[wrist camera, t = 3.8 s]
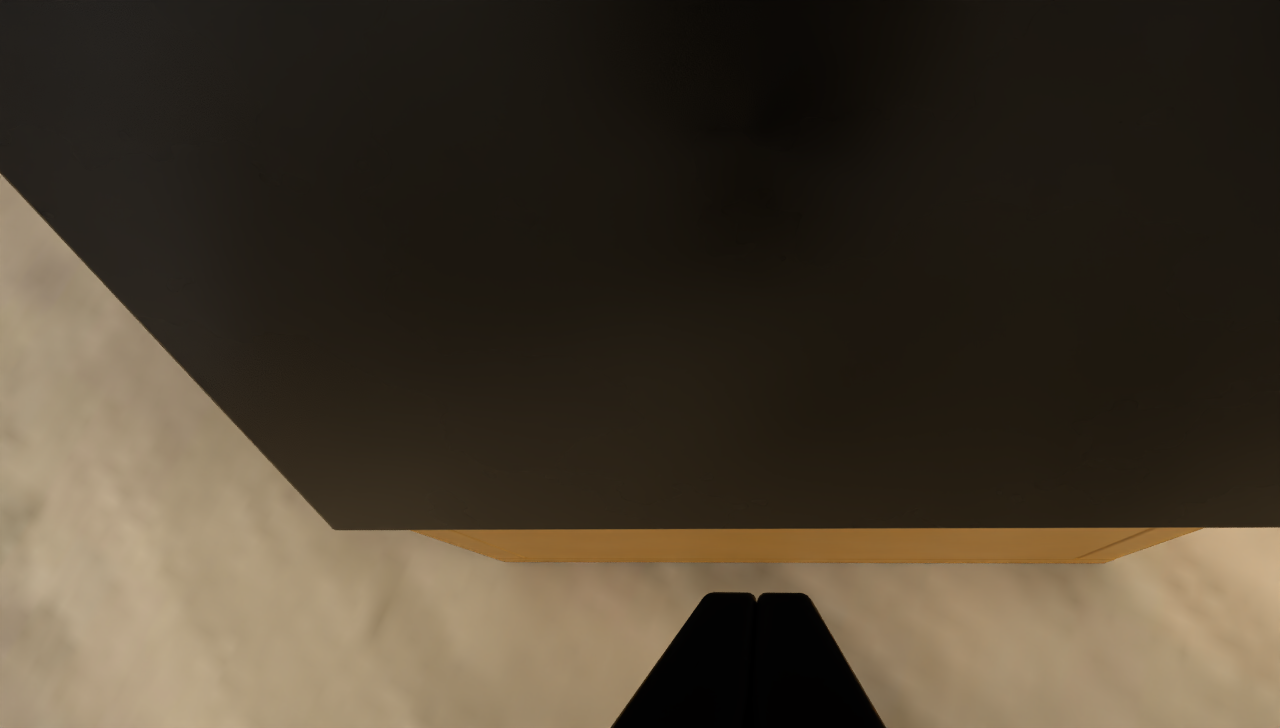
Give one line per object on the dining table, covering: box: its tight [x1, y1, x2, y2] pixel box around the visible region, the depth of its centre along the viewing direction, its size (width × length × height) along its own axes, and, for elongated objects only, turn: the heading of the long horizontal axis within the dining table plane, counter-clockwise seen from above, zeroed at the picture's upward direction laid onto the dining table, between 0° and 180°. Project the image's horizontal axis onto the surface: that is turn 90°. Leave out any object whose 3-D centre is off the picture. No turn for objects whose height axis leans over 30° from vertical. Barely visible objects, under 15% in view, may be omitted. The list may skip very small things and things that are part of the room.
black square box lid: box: [0, 0, 1280, 530], centre depth 8 cm, size 14×13×1 cm
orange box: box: [411, 528, 1203, 563], centre depth 20 cm, size 14×13×8 cm
